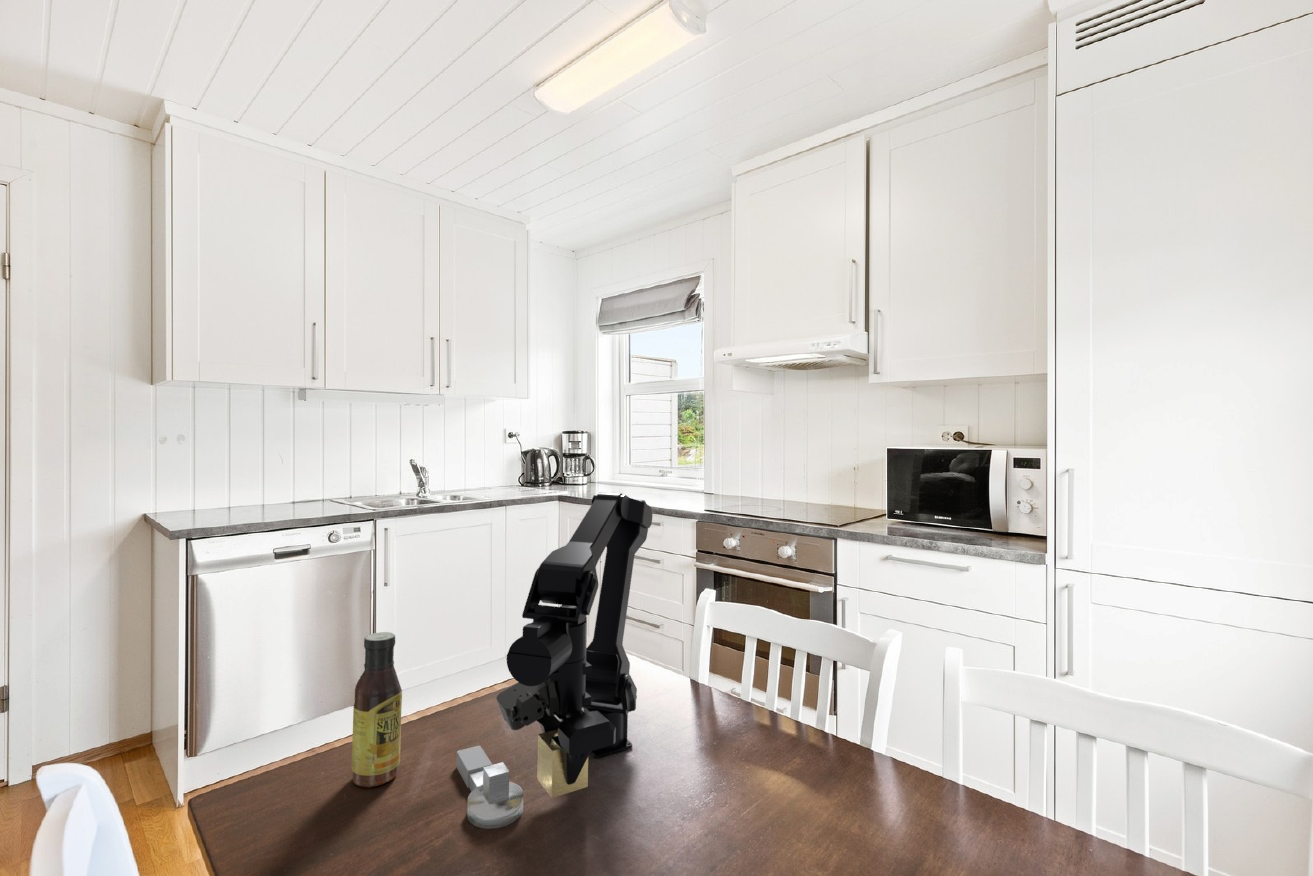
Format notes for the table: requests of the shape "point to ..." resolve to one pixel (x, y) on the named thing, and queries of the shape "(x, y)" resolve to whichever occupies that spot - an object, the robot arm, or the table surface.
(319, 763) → the table surface
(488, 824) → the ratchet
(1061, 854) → the table surface
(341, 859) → the table surface
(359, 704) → the sauce bottle
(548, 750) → the wooden toy block
